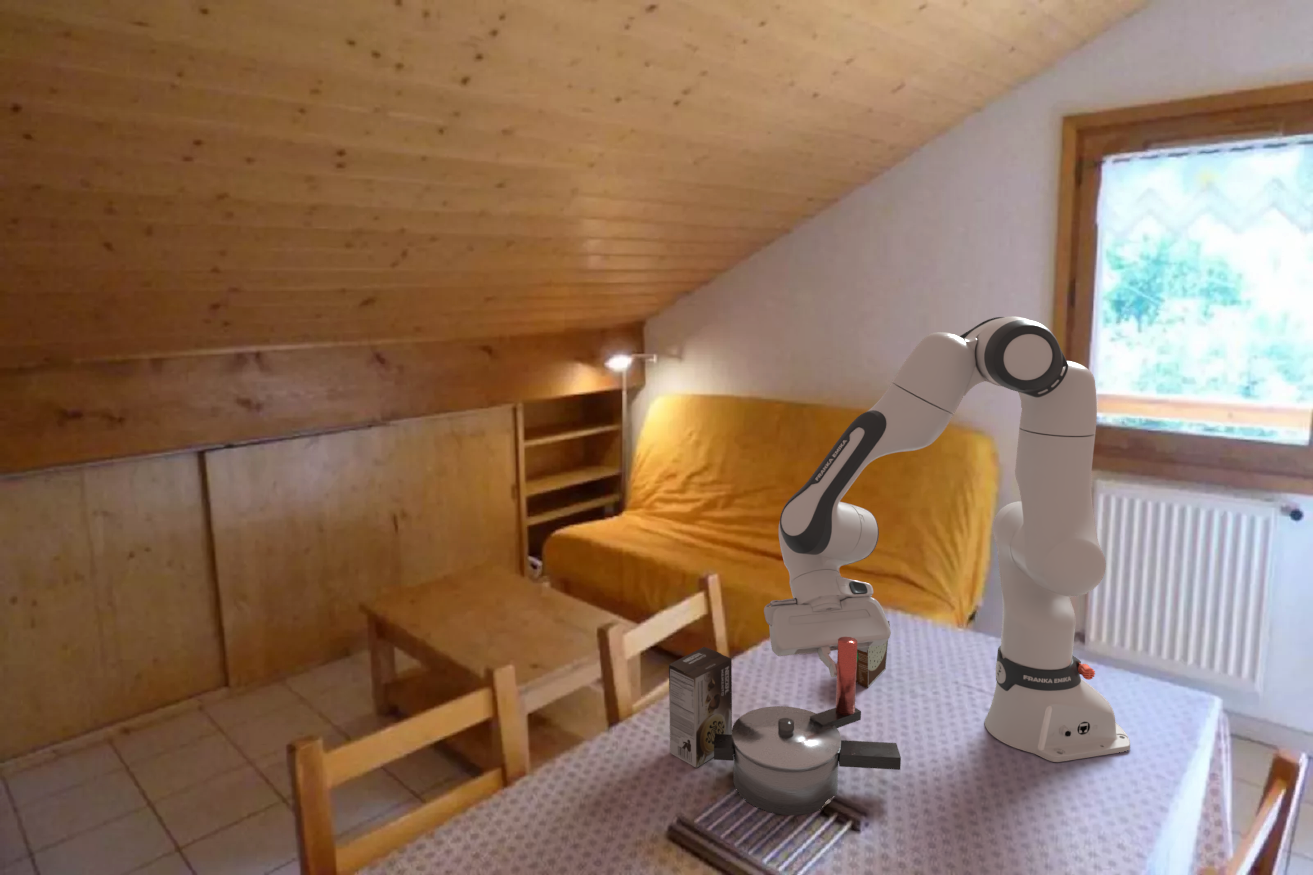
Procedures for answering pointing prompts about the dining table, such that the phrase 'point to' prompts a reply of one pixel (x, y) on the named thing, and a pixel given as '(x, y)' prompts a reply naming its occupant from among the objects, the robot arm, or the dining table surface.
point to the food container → (870, 664)
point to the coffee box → (699, 704)
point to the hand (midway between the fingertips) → (841, 675)
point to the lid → (801, 725)
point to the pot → (801, 775)
